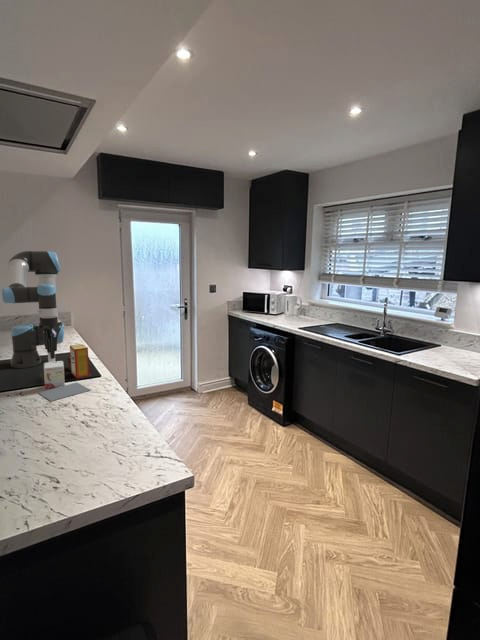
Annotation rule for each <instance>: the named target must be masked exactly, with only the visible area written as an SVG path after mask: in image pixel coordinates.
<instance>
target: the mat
mask: <svg viewBox="0 0 480 640" xmlns="http://www.w3.org/2000/svg"><path fill="white" fill-rule="evenodd" d="M90 391H91V389H89V387H86V386H85V385H82V384H81V383H78V382H74V383H69V384H65V386H60V387H54V388H48V389H45V390H42V391H39V392H38V394H39V395H40V396H42V397H43V398H45V399H46V400H47V401H49V402H55V401H59V400H62V399H66V398H69V397H73V396H76V395H79V394H83V393H86V392H90Z"/></svg>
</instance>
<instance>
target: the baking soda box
mask: <svg viewBox="0 0 480 640" xmlns="http://www.w3.org/2000/svg"><path fill="white" fill-rule="evenodd" d="M69 354H70V355H69V357H70V358H71V370H70V371H71V374H72V376H73V377H74V378H75V377H76V378H75V379H81V378H82V379H83V378H87V377H90V364H89V363H90V362H89V361H90V360H89V348H88V346H86V345H85V344H84V343H79V344H71V345H69ZM86 376H87V377H86Z"/></svg>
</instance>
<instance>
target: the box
mask: <svg viewBox="0 0 480 640" xmlns="http://www.w3.org/2000/svg"><path fill="white" fill-rule="evenodd" d="M67 366H68V371H71V358H70V356H68V357H67Z"/></svg>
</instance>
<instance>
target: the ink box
mask: <svg viewBox="0 0 480 640" xmlns="http://www.w3.org/2000/svg"><path fill="white" fill-rule="evenodd" d="M55 361H56V360H55ZM64 364H65V363H64V361H63V360H57V361H56V362H48V361H47V362H46V361H45V362H43V379H44V386H45V387H44V389H45V390H48V389H53V388H57V387H61V386H65V385H66V383H65V366H64Z"/></svg>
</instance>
